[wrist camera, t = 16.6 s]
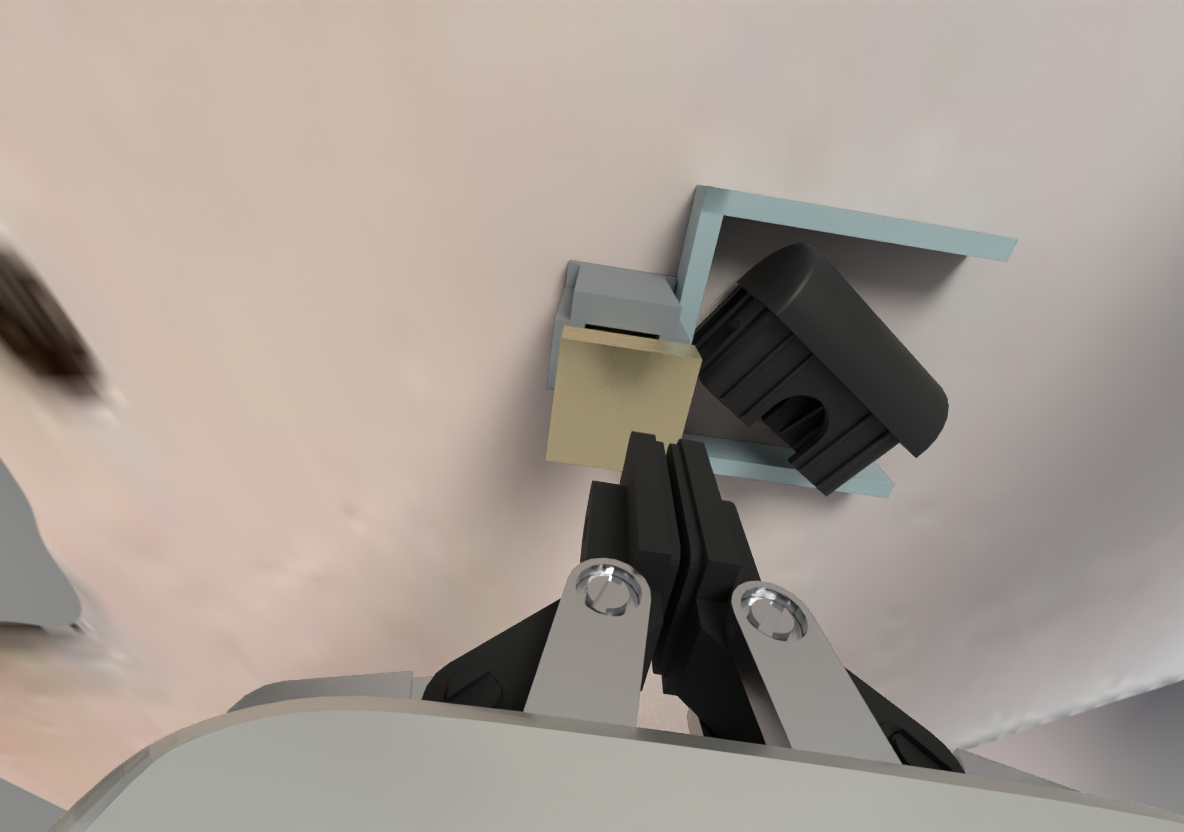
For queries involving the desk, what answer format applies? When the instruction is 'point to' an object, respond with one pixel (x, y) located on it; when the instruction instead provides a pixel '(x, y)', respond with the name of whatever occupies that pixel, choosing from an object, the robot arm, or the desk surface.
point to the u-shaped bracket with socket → (677, 301)
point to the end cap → (817, 368)
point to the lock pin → (617, 394)
